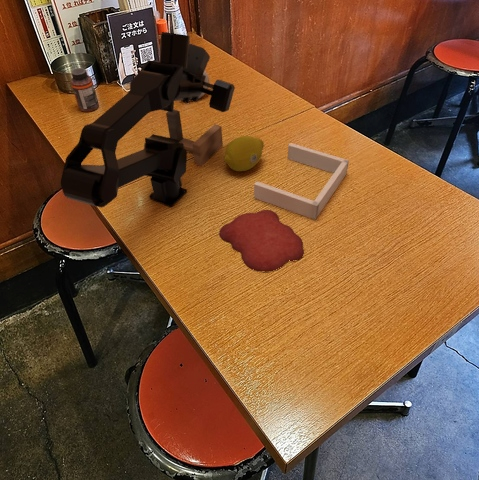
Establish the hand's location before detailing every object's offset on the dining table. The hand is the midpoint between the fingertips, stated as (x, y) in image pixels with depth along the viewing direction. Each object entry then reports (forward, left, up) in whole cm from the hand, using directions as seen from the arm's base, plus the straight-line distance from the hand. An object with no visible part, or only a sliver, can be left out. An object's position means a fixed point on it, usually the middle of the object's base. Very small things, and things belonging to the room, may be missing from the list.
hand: (208, 84), depth 110 cm
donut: (+15, +16, -16) cm, 27 cm away
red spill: (-27, -30, -16) cm, 43 cm away
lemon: (-7, -14, -16) cm, 22 cm away
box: (-7, -29, -15) cm, 34 cm away
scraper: (-7, +2, -15) cm, 17 cm away
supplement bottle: (-4, +41, -16) cm, 44 cm away
